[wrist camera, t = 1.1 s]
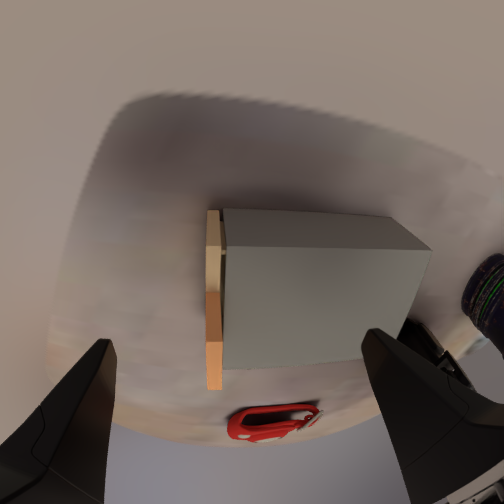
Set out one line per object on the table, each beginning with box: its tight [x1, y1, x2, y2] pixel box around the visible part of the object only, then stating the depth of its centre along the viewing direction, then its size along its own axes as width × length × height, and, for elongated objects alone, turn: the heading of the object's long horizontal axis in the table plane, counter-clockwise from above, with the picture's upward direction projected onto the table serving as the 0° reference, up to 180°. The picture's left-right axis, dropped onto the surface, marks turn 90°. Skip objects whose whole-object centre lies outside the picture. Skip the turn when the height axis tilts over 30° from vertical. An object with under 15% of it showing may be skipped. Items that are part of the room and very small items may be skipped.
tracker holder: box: [227, 404, 324, 443], centre depth 34 cm, size 12×4×10 cm
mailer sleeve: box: [222, 208, 433, 370], centre depth 22 cm, size 14×10×6 cm
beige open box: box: [206, 210, 226, 390], centre depth 19 cm, size 14×10×10 cm
